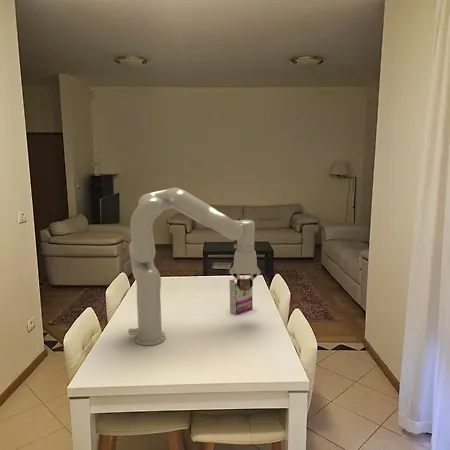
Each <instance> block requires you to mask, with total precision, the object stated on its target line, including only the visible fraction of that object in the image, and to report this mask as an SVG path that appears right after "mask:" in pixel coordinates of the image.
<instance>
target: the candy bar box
mask: <svg viewBox="0 0 450 450" xmlns="http://www.w3.org/2000/svg"><path fill="white" fill-rule="evenodd" d="M240 279H250V275H249V276H248V275H244V276H241V277H240ZM250 310H253V287H251V289H250V291H243V290H240V288H239V289H238V286H237V279H236V278H234V279H230V280H229V311H230V313H231V314H234V315H235V316H238V315H240V314H243V313H246V312H248V311H250Z"/></svg>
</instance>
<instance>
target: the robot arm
mask: <svg viewBox="0 0 450 450" xmlns="http://www.w3.org/2000/svg"><path fill="white" fill-rule="evenodd" d="M137 203H138V204H137V205H138V206H137V207H136V208H135V210H134V211H133V213H132V215H131V217H130V234H131V235H130V237H131V241H130V242H129V247H128V248H129V249H128V251H129V258H130V264H131V265H130V266H131V271H132V276H133V277H134V280H135V282H136V307H137V309H136V310H137V327H136V328H128V334H129V336H135V337H134V341H135V343H136V344H138V345H141V346H155V345H159V344H161V343H163V342H164V341H165V340H166V337H167V336H166V333H165V332H164V331H163V329H162V304H161V303H162V302H161V286H162V278H161V274H160V271H159V270H158V269H157V267H156V265H155V262H154V259H155V256H156V246H155V238H154V232H153V231H154V230H153V225H154V222H155V220H156V219H157V218H158V217H159V216H160V215H161V214H162V212H163V211H167V210H169V209H174V210H176V211H178V212H179V213H181V214H183V215H185V216H187V217H188V218H190V219H192V220H193V221H195V222H197V223H199V224H201V225H202V226H204V227H207V228H209V229H211V230H213V231H215V232H217V233H219V234H220V235H222V236H223V237H225V238H227V239H228V240H230V241H236V244H234V245H233V249H236V250H235V252H234V256H233V265H232V267H231V268H230V269H229V271H228V273H229V274H230V275H232V276H233V277H234V279H237V286H238V289H239V288H240V276H241V275H249V277H250V289H251V287H252V288H253V286H254V284H253V283H254V280H255V279H256V278H257V277H258V276H260V275H261V274H262V271H261V270H260V268H259V267H258V263H257V262H258V261H257V253H256V250H255V229H256V228H255V226H256V224H255V222H254V220H251V219H240V220H234V219H233V218H232V217H231V218H230V217H229V216H228V215H225V214H224V213H222V212H220V211H219V210H218V209H216V208H214V207H213V206H211V205H210V204H208V203H206V202H205V201H203V200H201V199H199V198H198V197H197V196H195V195H193V194H191V193H189V192H188V191H186V190H184V189H182V188H179V187H171V188H167V189H163V190H158V191H154V192H149V193H144V194H143V195H141V196H140V198H139V199H138V202H137Z"/></svg>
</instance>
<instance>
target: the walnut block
mask: <svg viewBox="0 0 450 450" xmlns="http://www.w3.org/2000/svg"><path fill="white" fill-rule="evenodd" d="M240 290H243V291H250V279H240Z"/></svg>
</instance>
